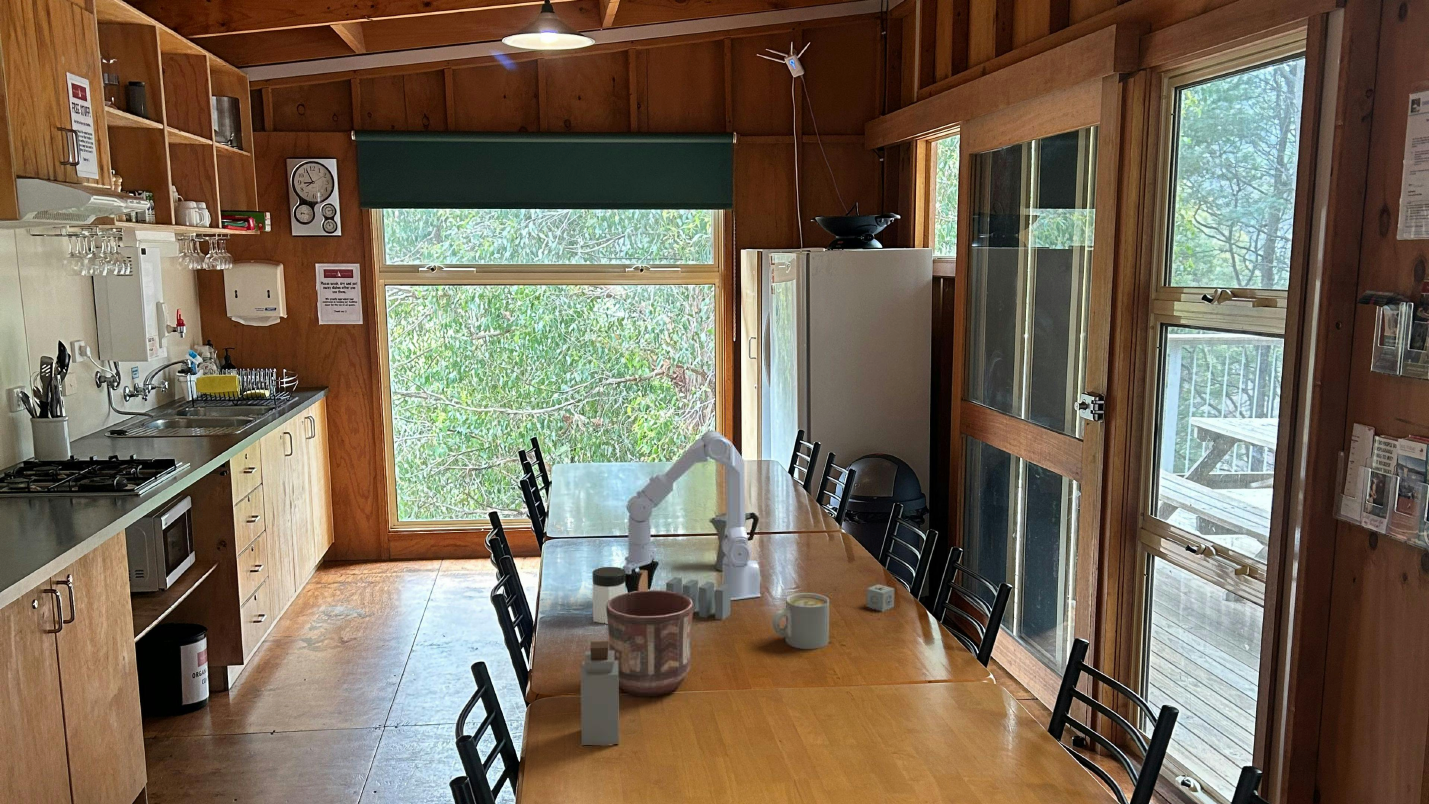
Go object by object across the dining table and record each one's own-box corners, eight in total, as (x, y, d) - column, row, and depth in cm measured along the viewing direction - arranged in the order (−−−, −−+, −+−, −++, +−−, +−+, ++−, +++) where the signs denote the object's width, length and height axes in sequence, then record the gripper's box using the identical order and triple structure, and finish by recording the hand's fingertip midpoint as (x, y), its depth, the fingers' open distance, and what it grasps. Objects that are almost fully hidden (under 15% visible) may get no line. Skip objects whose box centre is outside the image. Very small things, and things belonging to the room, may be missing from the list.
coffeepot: (715, 575, 291) (715, 512, 289) (703, 565, 300) (703, 505, 297) (765, 568, 297) (765, 507, 295) (751, 559, 306) (751, 500, 303)
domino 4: (699, 616, 258) (699, 587, 257) (707, 610, 262) (707, 581, 261) (706, 617, 257) (706, 588, 256) (714, 611, 262) (714, 582, 261)
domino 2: (666, 611, 261) (666, 582, 260) (674, 605, 266) (674, 577, 265) (673, 612, 261) (673, 583, 260) (681, 606, 265) (681, 578, 264)
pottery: (660, 710, 204) (660, 622, 202) (590, 690, 214) (589, 606, 211) (708, 680, 219) (709, 598, 217) (641, 663, 228) (641, 584, 226)
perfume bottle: (583, 729, 196) (581, 638, 194) (619, 728, 197) (618, 637, 194) (581, 746, 190) (580, 652, 187) (618, 744, 190) (617, 651, 188)
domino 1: (632, 603, 268) (631, 575, 267) (640, 597, 272) (640, 569, 271) (638, 604, 267) (638, 575, 266) (647, 598, 271) (647, 570, 270)
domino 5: (715, 618, 256) (715, 589, 255) (723, 612, 261) (723, 583, 260) (722, 620, 255) (722, 590, 254) (730, 613, 260) (730, 584, 259)
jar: (601, 626, 250) (600, 578, 249) (585, 617, 257) (585, 570, 255) (633, 619, 255) (633, 572, 254) (617, 610, 262) (617, 564, 260)
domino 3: (682, 613, 260) (682, 585, 259) (690, 607, 264) (690, 579, 263) (689, 615, 259) (689, 586, 258) (698, 608, 263) (698, 580, 262)
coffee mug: (822, 632, 247) (823, 592, 246) (833, 648, 237) (834, 606, 236) (767, 635, 245) (767, 594, 244) (776, 651, 235) (776, 608, 234)
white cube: (866, 607, 265) (866, 588, 264) (877, 602, 269) (878, 584, 268) (882, 612, 262) (883, 593, 261) (893, 607, 265) (894, 588, 264)
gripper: (638, 533, 275) (639, 583, 277) (612, 547, 262) (612, 599, 264) (662, 536, 273) (662, 586, 275) (636, 550, 260) (637, 603, 261)
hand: (639, 593), depth 269 cm, fingers open, 7 cm apart
